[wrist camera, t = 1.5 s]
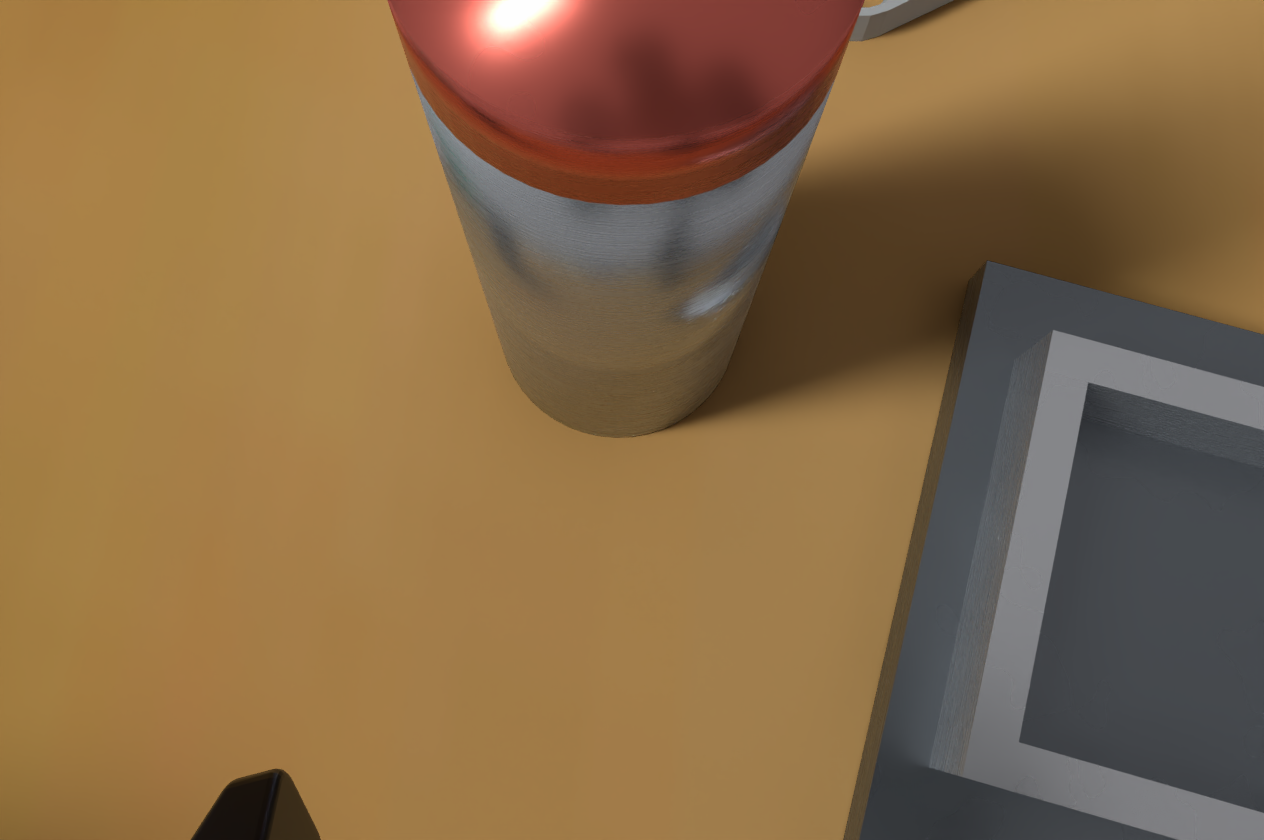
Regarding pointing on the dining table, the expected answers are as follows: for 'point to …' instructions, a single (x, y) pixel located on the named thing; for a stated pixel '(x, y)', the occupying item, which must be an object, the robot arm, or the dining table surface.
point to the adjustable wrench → (890, 16)
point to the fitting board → (1079, 582)
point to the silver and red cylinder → (622, 179)
